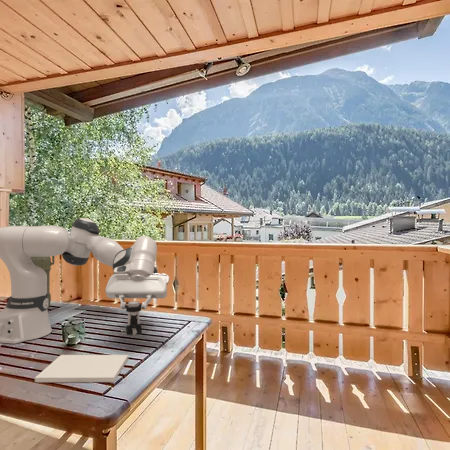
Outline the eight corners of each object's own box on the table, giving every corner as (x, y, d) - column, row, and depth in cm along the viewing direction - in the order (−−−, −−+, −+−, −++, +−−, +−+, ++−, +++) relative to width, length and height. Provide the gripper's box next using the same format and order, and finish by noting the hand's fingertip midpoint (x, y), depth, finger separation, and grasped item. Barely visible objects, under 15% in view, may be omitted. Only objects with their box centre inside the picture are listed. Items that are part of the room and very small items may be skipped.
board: (34, 382, 83) (34, 377, 83) (60, 358, 97) (60, 355, 97) (113, 382, 84) (113, 377, 84) (128, 358, 98) (128, 354, 98)
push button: (122, 338, 101) (123, 305, 101) (118, 333, 106) (119, 302, 106) (143, 334, 104) (144, 303, 105) (139, 329, 109) (139, 300, 109)
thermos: (24, 307, 152) (24, 232, 151) (52, 303, 159) (52, 232, 158) (25, 312, 145) (25, 233, 144) (55, 308, 152) (55, 233, 151)
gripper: (170, 279, 117) (166, 313, 108) (113, 278, 117) (104, 313, 107) (169, 268, 113) (164, 303, 103) (109, 267, 112) (99, 302, 102)
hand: (133, 308), depth 105 cm, fingers closed on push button, 5 cm apart
